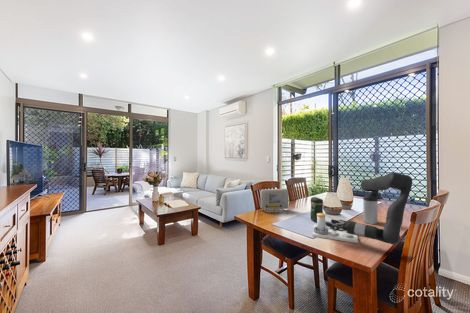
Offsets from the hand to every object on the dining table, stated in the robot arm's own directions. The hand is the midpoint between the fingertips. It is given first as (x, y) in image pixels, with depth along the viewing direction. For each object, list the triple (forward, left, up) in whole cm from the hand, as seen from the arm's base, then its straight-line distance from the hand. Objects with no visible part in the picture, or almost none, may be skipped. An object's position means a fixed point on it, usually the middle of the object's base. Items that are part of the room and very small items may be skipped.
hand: (328, 222), depth 132 cm
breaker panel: (-6, +3, -9) cm, 11 cm away
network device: (-44, -47, -9) cm, 65 cm away
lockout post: (-2, -5, -8) cm, 9 cm away
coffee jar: (-29, -9, -9) cm, 32 cm away
